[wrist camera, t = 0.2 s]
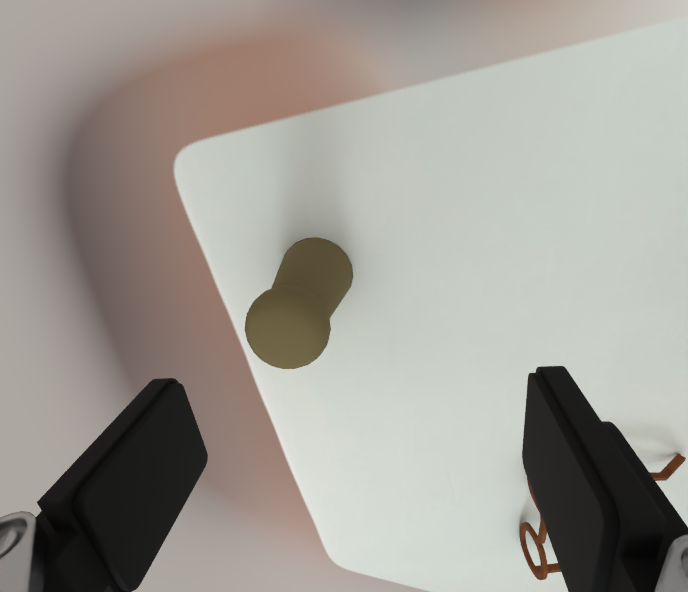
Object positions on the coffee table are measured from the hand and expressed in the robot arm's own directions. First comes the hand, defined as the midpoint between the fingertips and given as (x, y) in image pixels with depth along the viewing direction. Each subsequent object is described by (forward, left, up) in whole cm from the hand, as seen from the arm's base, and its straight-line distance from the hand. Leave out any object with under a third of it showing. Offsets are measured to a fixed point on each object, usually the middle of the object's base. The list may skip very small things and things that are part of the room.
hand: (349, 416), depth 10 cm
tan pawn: (0, -7, -22) cm, 23 cm away
